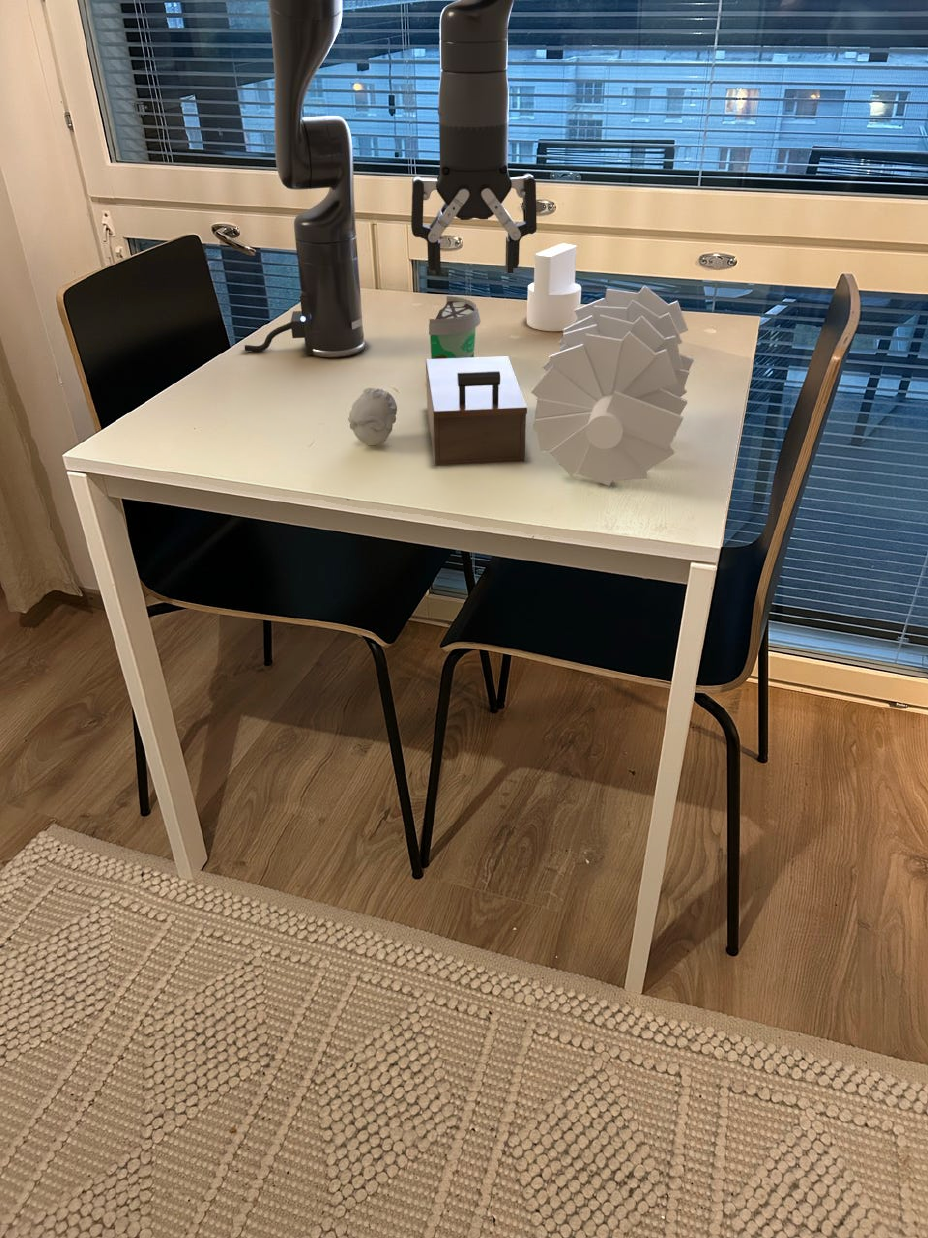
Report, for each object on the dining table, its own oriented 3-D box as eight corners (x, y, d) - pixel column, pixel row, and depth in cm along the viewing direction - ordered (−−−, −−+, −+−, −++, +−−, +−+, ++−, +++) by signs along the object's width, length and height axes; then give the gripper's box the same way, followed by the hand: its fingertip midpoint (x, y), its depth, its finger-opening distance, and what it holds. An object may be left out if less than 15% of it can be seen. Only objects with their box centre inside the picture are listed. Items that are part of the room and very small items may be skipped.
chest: (524, 461, 116) (526, 411, 112) (434, 465, 115) (433, 415, 112) (507, 407, 130) (508, 361, 126) (427, 411, 129) (425, 364, 126)
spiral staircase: (560, 519, 112) (588, 426, 131) (704, 476, 104) (711, 384, 123) (496, 385, 103) (536, 306, 122) (647, 327, 96) (665, 253, 115)
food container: (471, 391, 135) (471, 322, 129) (430, 388, 136) (428, 320, 130) (487, 362, 145) (487, 296, 139) (448, 359, 146) (447, 294, 140)
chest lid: (527, 413, 112) (528, 376, 109) (433, 418, 111) (432, 380, 108) (508, 361, 126) (509, 327, 124) (425, 364, 125) (424, 330, 123)
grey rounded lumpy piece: (408, 437, 122) (406, 386, 118) (378, 457, 117) (374, 405, 113) (371, 428, 125) (367, 378, 121) (339, 447, 120) (334, 395, 116)
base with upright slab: (544, 311, 166) (547, 240, 159) (588, 320, 161) (593, 247, 154) (516, 324, 160) (518, 251, 153) (561, 334, 155) (565, 259, 148)
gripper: (408, 124, 97) (414, 283, 106) (544, 122, 98) (538, 280, 107) (406, 114, 103) (411, 265, 112) (534, 111, 104) (528, 262, 113)
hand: (473, 272), depth 110 cm, fingers open, 8 cm apart
